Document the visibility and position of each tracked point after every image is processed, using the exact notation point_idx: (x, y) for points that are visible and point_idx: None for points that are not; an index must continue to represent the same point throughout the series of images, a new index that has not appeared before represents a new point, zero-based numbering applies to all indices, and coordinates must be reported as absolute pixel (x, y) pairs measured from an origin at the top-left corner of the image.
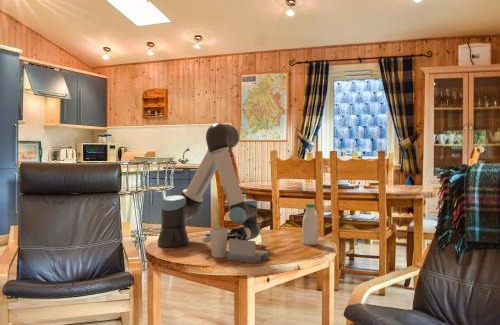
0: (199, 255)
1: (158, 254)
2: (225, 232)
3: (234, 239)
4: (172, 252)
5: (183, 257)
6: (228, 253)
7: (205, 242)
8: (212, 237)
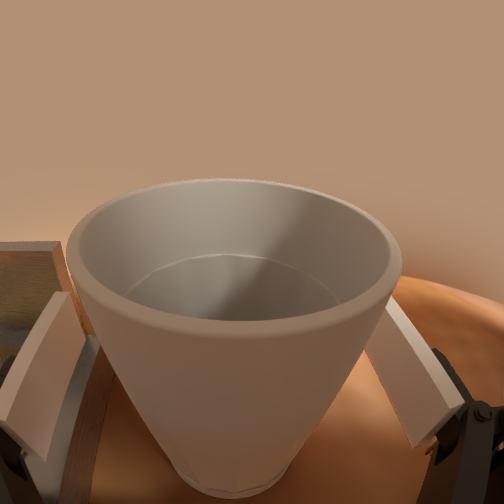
0: (352, 382)
1: (462, 297)
2: (104, 247)
3: (21, 242)
4: (480, 341)
5: None
6: (91, 336)
7: (371, 351)
8: (257, 268)
